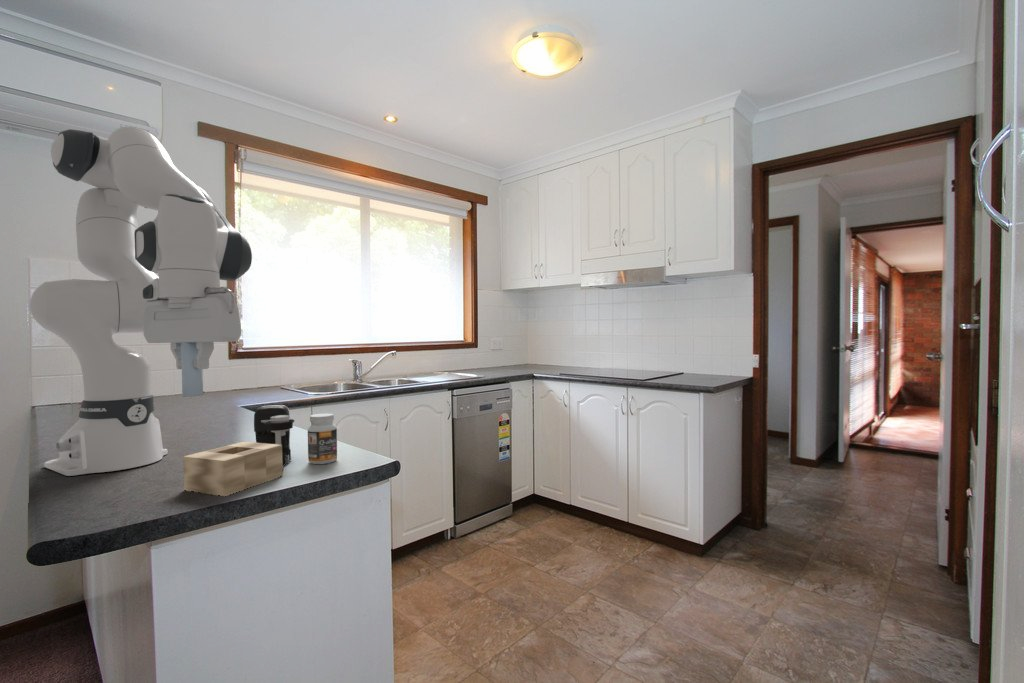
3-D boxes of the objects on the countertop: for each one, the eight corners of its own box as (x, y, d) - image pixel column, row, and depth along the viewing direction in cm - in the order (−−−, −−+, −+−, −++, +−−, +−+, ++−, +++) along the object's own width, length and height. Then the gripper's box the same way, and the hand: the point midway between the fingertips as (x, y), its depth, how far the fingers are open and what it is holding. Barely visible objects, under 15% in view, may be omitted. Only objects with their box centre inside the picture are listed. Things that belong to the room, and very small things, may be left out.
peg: (178, 396, 82) (176, 338, 82) (195, 394, 85) (193, 338, 85) (190, 397, 81) (188, 338, 81) (207, 394, 84) (205, 337, 84)
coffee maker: (253, 461, 103) (251, 408, 102) (257, 457, 106) (255, 406, 106) (288, 458, 105) (287, 406, 105) (291, 454, 108) (290, 404, 108)
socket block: (184, 490, 84) (183, 456, 84) (244, 471, 95) (243, 441, 95) (225, 496, 80) (224, 460, 80) (282, 476, 92) (282, 444, 91)
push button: (288, 468, 97) (287, 419, 97) (260, 470, 96) (259, 420, 96) (298, 460, 103) (297, 413, 103) (272, 461, 103) (271, 414, 102)
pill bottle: (323, 466, 98) (322, 417, 98) (302, 463, 100) (301, 416, 100) (343, 459, 103) (342, 413, 103) (322, 457, 106) (321, 412, 105)
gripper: (249, 287, 82) (252, 368, 82) (170, 293, 90) (172, 367, 90) (214, 284, 76) (217, 371, 76) (133, 290, 84) (135, 370, 84)
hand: (192, 369), depth 83 cm, fingers closed on peg, 3 cm apart
